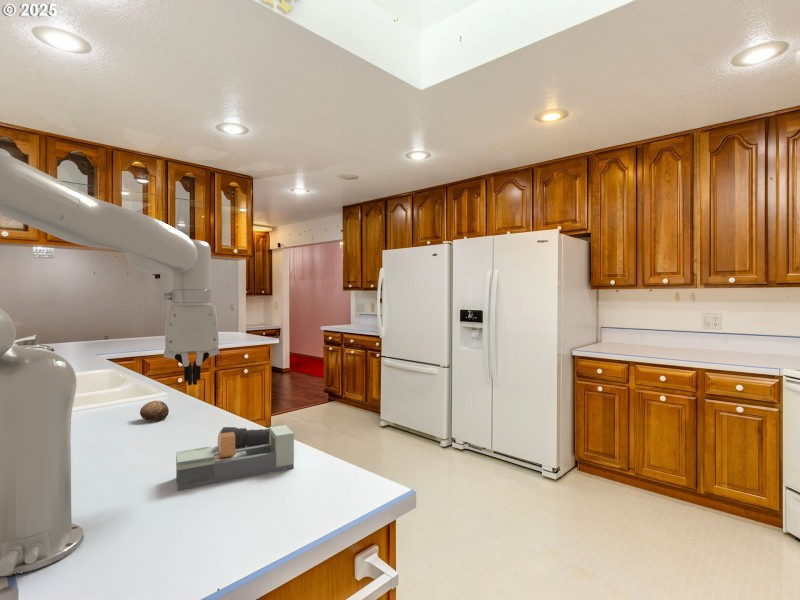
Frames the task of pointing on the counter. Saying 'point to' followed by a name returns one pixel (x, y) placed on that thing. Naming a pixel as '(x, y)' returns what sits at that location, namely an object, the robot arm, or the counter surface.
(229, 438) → the hammer
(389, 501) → the counter surface
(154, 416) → the brown rounded lump
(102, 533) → the counter surface
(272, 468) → the toy lathe
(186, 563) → the counter surface
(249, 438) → the flashlight
